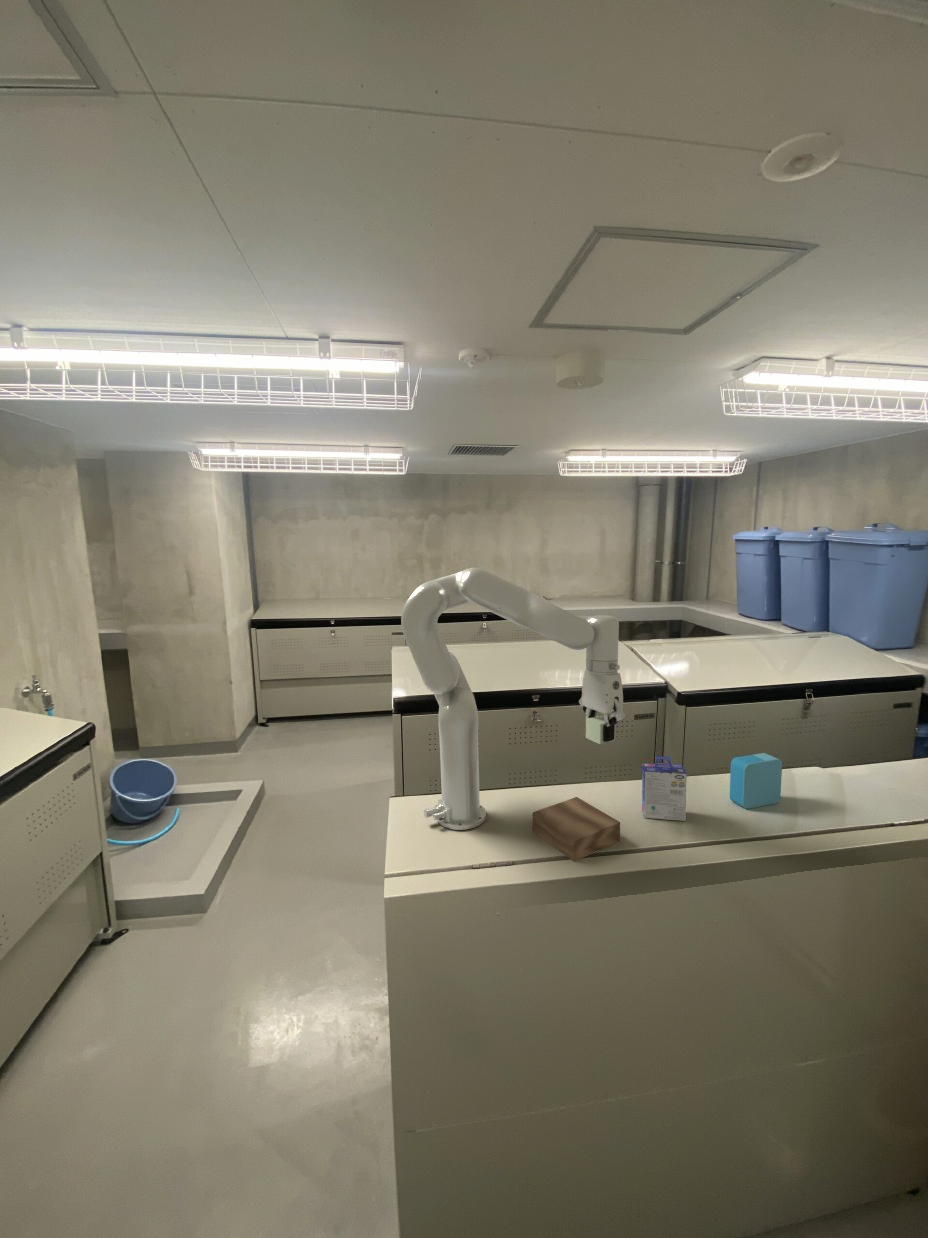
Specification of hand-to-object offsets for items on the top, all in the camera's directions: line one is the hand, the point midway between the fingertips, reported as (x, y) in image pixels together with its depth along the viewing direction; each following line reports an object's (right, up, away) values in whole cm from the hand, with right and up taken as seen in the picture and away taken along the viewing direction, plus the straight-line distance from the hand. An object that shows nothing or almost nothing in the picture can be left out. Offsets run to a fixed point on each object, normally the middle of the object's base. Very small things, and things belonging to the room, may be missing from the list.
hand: (600, 736), depth 119 cm
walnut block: (-8, -22, -8) cm, 24 cm away
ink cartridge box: (+16, -20, 0) cm, 25 cm away
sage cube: (0, -1, 0) cm, 1 cm away
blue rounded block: (+42, -19, +5) cm, 46 cm away
